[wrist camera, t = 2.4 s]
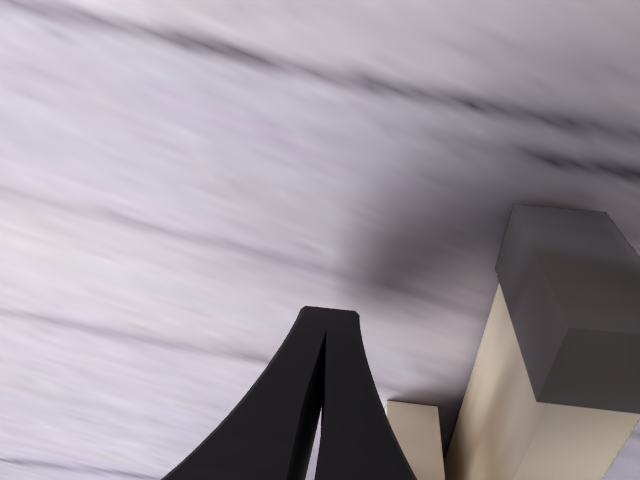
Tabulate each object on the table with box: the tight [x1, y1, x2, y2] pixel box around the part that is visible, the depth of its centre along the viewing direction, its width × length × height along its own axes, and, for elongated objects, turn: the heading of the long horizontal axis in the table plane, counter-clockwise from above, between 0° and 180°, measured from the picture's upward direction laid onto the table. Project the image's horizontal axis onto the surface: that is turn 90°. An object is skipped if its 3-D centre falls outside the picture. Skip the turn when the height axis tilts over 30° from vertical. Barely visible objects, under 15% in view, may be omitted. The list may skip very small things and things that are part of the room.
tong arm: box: [444, 204, 640, 480], centre depth 13 cm, size 12×2×4 cm, turn 178°
